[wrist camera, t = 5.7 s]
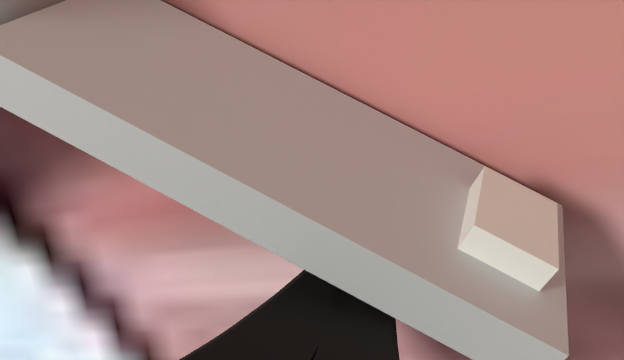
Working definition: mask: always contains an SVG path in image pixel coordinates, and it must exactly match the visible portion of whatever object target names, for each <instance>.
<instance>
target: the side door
mask: <svg viewBox="0 0 624 360" xmlns="http://www.w3.org/2000/svg"><path fill="white" fill-rule="evenodd" d="M0 107H2V108H4V109H5V110H7V111H9V112H11V113H13V114H15V115H17V116H19V117H20V118H22V119H24V120H26V121H28V122H30V123H32V124H33V125H35V126H37V127H39V128H41V129H43V130H45V131H47V132H48V133H50V134H52V135H54V136H56V137H58V138H60V139H61V140H63V141H65V142H67V143H69V144H71V145H73V146H75V147H76V148H78V149H80V150H82V151H84V152H86V153H88V154H89V155H91V156H93V157H95V158H97V159H99V160H101V161H103V162H104V163H106V164H108V165H110V166H112V167H114V168H116V169H118V170H119V171H121V172H123V173H125V174H127V175H129V176H131V177H132V178H134V179H136V180H138V181H140V182H142V183H144V184H146V185H147V186H149V187H151V188H153V189H155V190H157V191H159V192H160V193H162V194H164V195H166V196H168V197H170V198H172V199H174V200H175V201H177V202H179V203H181V204H183V205H185V206H187V207H188V208H190V209H192V210H194V211H196V212H198V213H200V214H202V215H203V216H205V217H207V218H209V219H211V220H213V221H215V222H216V223H218V224H220V225H222V226H224V227H226V228H228V229H230V230H231V231H233V232H235V233H237V234H239V235H241V236H243V237H244V238H246V239H248V240H250V241H252V242H254V243H256V244H258V245H259V246H261V247H263V248H265V249H267V250H269V251H271V252H272V253H274V254H276V255H278V256H280V257H282V258H284V259H286V260H287V261H289V262H291V263H293V264H295V265H297V266H299V267H300V268H302V269H304V270H306V271H308V272H310V273H312V274H314V275H315V276H317V277H319V278H321V279H323V280H325V281H327V282H328V283H330V284H332V285H334V286H336V287H338V288H340V289H342V290H343V291H345V292H347V293H349V294H351V295H353V296H355V297H356V298H358V299H360V300H362V301H364V302H366V303H368V304H370V305H371V306H373V307H375V308H377V309H379V310H381V311H383V312H384V313H386V314H388V315H390V316H392V317H394V318H396V319H398V320H399V321H401V322H403V323H405V324H407V325H409V326H411V327H413V328H414V329H416V330H418V331H420V332H422V333H424V334H426V335H427V336H429V337H431V338H433V339H435V340H437V341H439V342H441V343H442V344H444V345H446V346H448V347H450V348H452V349H454V350H455V351H457V352H459V353H461V354H463V355H465V356H467V357H469V358H470V359H472V360H565V359H566V358H567V357H568V356H569V346H568V322H567V298H566V275H565V251H564V228H563V205H561V204H559V203H557V202H555V201H553V200H551V199H549V198H547V197H545V196H543V195H541V194H539V193H537V192H535V191H533V190H531V189H529V188H527V187H525V186H524V185H522V184H520V183H518V182H516V181H514V180H512V179H510V178H508V177H506V176H504V175H502V174H500V173H498V172H496V171H494V170H492V169H490V168H488V167H486V166H484V165H482V164H480V163H478V162H476V161H475V160H473V159H471V158H469V157H467V156H465V155H463V154H461V153H459V152H457V151H455V150H453V149H451V148H449V147H447V146H445V145H443V144H441V143H439V142H437V141H435V140H433V139H431V138H429V137H428V136H426V135H424V134H422V133H420V132H418V131H416V130H414V129H412V128H410V127H408V126H406V125H404V124H402V123H400V122H398V121H396V120H394V119H392V118H390V117H388V116H386V115H384V114H382V113H380V112H379V111H377V110H375V109H373V108H371V107H369V106H367V105H365V104H363V103H361V102H359V101H357V100H355V99H353V98H351V97H349V96H347V95H345V94H343V93H341V92H339V91H337V90H335V89H333V88H332V87H330V86H328V85H326V84H324V83H322V82H320V81H318V80H316V79H314V78H312V77H310V76H308V75H306V74H304V73H302V72H300V71H298V70H296V69H294V68H292V67H290V66H288V65H286V64H285V63H283V62H281V61H279V60H277V59H275V58H273V57H271V56H269V55H267V54H265V53H263V52H261V51H259V50H257V49H255V48H253V47H251V46H249V45H247V44H245V43H243V42H241V41H239V40H237V39H236V38H234V37H232V36H230V35H228V34H226V33H224V32H222V31H220V30H218V29H216V28H214V27H212V26H210V25H208V24H206V23H204V22H202V21H200V20H198V19H196V18H194V17H192V16H190V15H189V14H187V13H185V12H183V11H181V10H179V9H177V8H175V7H173V6H171V5H169V4H167V3H165V2H163V1H161V0H0Z"/></svg>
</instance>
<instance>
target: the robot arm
mask: <svg viewBox="0 0 624 360" xmlns="http://www.w3.org/2000/svg"><path fill="white" fill-rule="evenodd" d="M180 360H399V352H398V344H397V332H396V320H395V318H394V317H392V316H390V315H388V314H386V313H384V312H383V311H381V310H379V309H377V308H375V307H373V306H371V305H370V304H368V303H366V302H364V301H362V300H360V299H358V298H356V297H355V296H353V295H351V294H349V293H347V292H345V291H343V290H342V289H340V288H338V287H336V286H334V285H332V284H330V283H328V282H327V281H325V280H323V279H321V278H319V277H317V276H315V275H314V274H312V273H310V272H308V271H306V270H303V271H302V272H301V273H300V274H299V275H298V276H296V277H295V278H294V279H293V280H292V281H290V282H289V283H288V284H287V285H286V286H285V287H283V288H282V289H281V290H280V291H279V292H277V293H276V294H275V295H274V296H272V297H271V298H270V299H269V300H267V301H266V302H265V303H263V304H262V305H261V306H259V307H258V308H257V309H255V310H254V311H252V312H251V313H250V314H248V315H247V316H246V317H244V318H243V319H242V320H240V321H239V322H238V323H236V324H235V325H233V326H232V327H230V328H229V329H228V330H226V331H225V332H223V333H222V334H220V335H219V336H217V337H216V338H214V339H212V340H211V341H209V342H208V343H206V344H205V345H203V346H201V347H200V348H198V349H196V350H195V351H193V352H191V353H190V354H188V355H187V356H185V357H183V358H181V359H180Z"/></svg>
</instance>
